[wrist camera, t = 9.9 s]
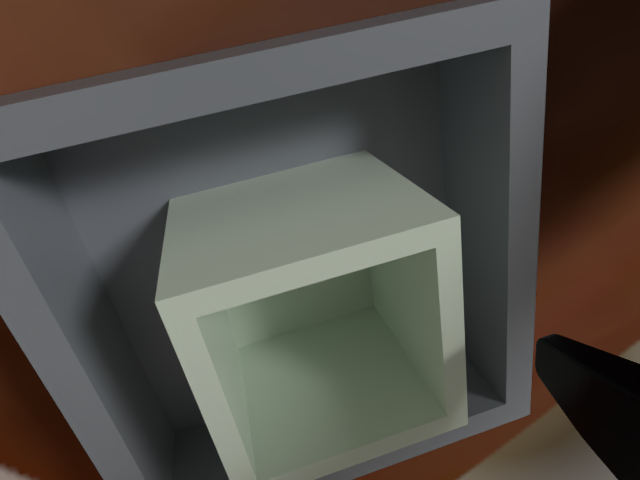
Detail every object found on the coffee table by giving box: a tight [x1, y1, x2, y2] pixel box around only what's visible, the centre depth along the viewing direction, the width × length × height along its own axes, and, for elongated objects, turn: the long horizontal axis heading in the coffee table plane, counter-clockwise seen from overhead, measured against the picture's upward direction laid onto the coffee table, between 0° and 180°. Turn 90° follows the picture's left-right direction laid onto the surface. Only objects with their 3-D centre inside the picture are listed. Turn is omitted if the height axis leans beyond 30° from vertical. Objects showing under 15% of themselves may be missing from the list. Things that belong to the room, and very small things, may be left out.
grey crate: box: [0, 0, 550, 480], centre depth 14 cm, size 14×14×4 cm
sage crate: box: [155, 150, 468, 480], centre depth 13 cm, size 6×6×6 cm
